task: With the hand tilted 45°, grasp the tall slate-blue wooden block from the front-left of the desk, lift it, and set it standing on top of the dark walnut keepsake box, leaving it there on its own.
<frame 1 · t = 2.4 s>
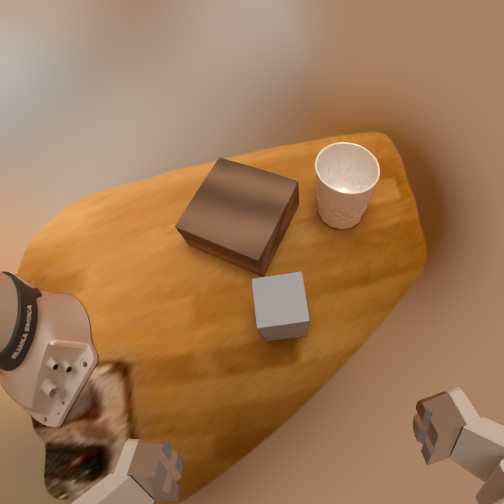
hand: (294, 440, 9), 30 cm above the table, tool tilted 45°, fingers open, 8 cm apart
white cup: (340, 209, 45), on the table
walnut box: (244, 225, 46), on the table
slate block: (284, 319, 40), on the table
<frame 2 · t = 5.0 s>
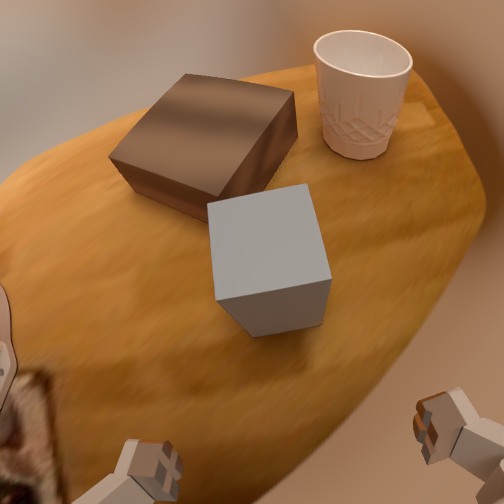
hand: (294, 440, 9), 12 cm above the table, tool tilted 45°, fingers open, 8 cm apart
white cup: (355, 136, 29), on the table
walnut box: (215, 164, 30), on the table
slate block: (281, 298, 23), on the table
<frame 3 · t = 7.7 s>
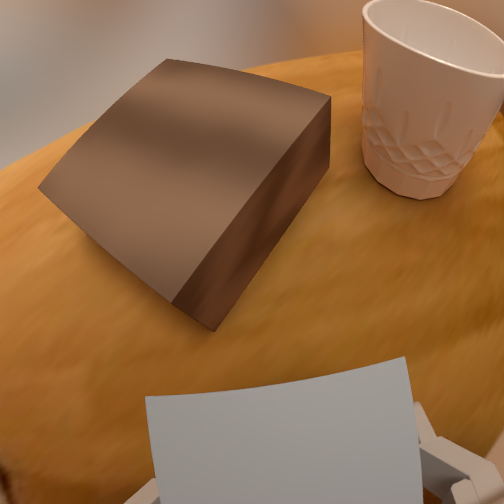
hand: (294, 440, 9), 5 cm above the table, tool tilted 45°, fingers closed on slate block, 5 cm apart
white cup: (408, 160, 19), on the table
walnut box: (198, 200, 20), on the table
slate block: (300, 434, 13), on the table, touching gripper
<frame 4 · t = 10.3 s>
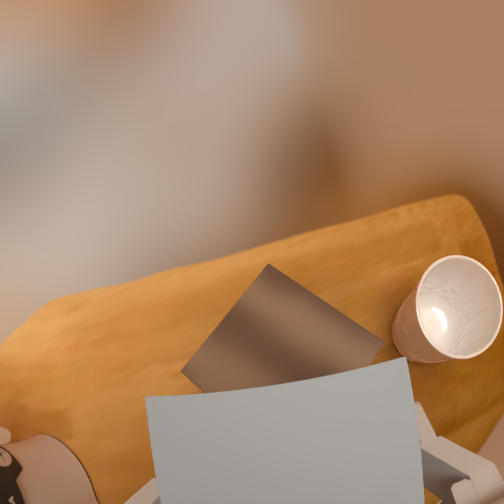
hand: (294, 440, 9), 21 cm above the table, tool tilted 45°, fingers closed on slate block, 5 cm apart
white cup: (420, 330, 28), on the table
walnut box: (286, 365, 30), on the table
slate block: (300, 434, 13), point 16 cm above the table, touching gripper
when the fingers open (13 cm above the table, at t = 13.1 s): slate block drops 2 cm, resting on walnut box.
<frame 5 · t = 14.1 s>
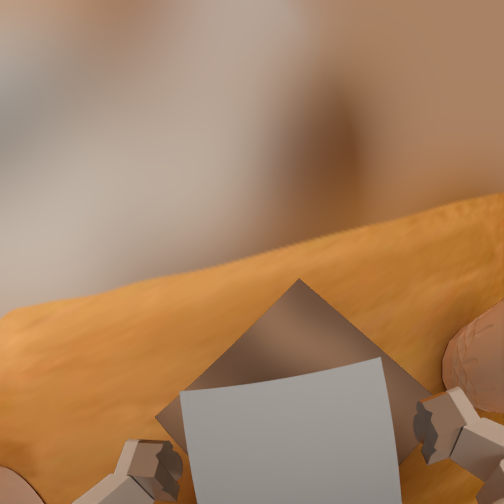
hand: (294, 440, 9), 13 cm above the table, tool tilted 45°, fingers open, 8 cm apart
white cup: (474, 365, 19), on the table
walnut box: (302, 416, 20), on the table, touching slate block
slate block: (301, 425, 15), point 6 cm above the table, touching walnut box
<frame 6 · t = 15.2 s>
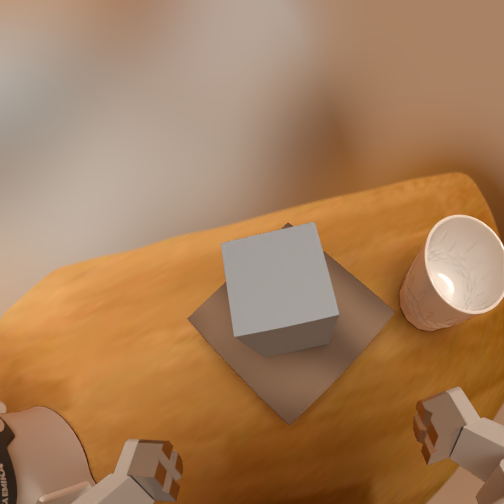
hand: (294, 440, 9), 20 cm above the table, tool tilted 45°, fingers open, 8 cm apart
white cup: (428, 299, 28), on the table
walnut box: (293, 331, 30), on the table
slate block: (290, 320, 24), point 6 cm above the table
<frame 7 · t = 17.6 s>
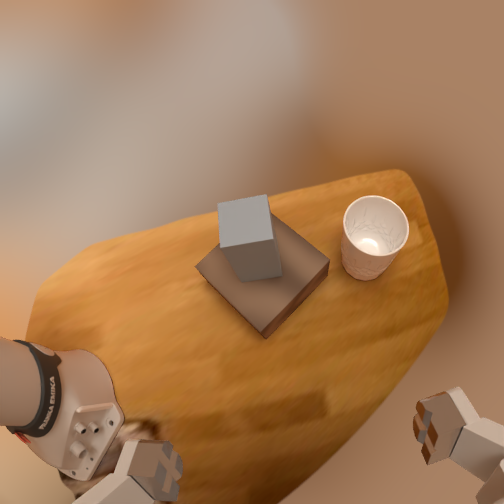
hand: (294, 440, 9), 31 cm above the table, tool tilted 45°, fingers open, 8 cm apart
white cup: (363, 259, 43), on the table
walnut box: (266, 279, 45), on the table, touching slate block
slate block: (259, 260, 40), point 6 cm above the table, touching walnut box
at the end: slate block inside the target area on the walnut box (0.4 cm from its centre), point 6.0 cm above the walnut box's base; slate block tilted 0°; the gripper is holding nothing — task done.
